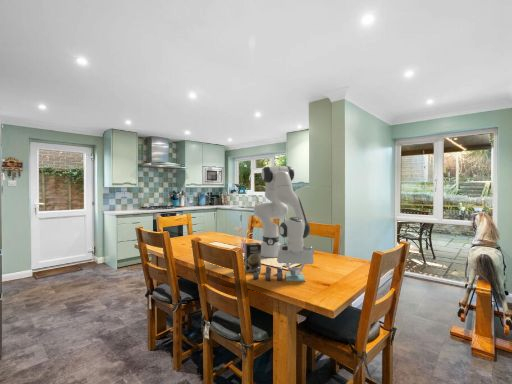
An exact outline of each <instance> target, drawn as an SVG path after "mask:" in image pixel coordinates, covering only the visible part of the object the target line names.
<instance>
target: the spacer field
mask: <svg viewBox="0 0 512 384" xmlns="http://www.w3.org/2000/svg"><path fill="white" fill-rule="evenodd" d="M252 273H253V274H252V275H253V276H252V279H253V280H254V281H259V280H260V274H261V271H260V267H258V266H256V267H255V272H252ZM271 276H272V266H267V265H266V267H265V274H264V281H266V282H270V281H271V278H272V277H271ZM283 279H284V278H283V267H281V266H280V267H279V266H278V267H277V269H276V280H277V281H278V282H279V281H280V282H282V281H283Z"/></svg>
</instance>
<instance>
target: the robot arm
mask: <svg viewBox="0 0 512 384" xmlns="http://www.w3.org/2000/svg"><path fill="white" fill-rule="evenodd" d="M260 175H261V180H262V181H263V182H264V183H265V187H264V188H265V189H264V196H265V198H266V199H267V200H269V201H271V202H262V203H256V204H255V206H254V207H253V214H254V215H255V217H256V218H258V219H259V221H260V222H261V224H262V229H263V230H262V232H263V235H262V242H261V243H260V244H261V257H263V258H264V257H265V258H276V261H277V263H278V264H285V265H286V267H287V271H288V272H290V271H291V268H292V267H290V266H289V264H295V265H296V264H299V265H301V267H298V268H299V269H300V273H303V269H304V267H305V265H313V264H314V254H315V249H314V248H313V247H312V246H304V239H306V238H307V237H308V236H309V235H310V233H311V227H310V224H309V222H308V220H307V218H306V214H305V211H304V207H303V204H302V201H301V199H300V197H299V196H298V195H297V194H296V193H295V191H294V189H293V188H294V187H293V183H292V181H293V180H294V178H295V170H294V168H293V167H292V166H288V165H287V166H284V165H277V166H276V165H275V166H265V167H263V168H262V170H261V174H260ZM288 206H290V207H292V208H293V210H294V212H295V215H296V216H292V217H289V218H288V220H286V221H283V222H281V223H280V225H279V226H278V224H277V223H275V222H274V221H272V220H271V219H273V218H274V219H277V218H278V219H279V218H285V217H287V215H288V213H289V207H288ZM279 235H280V236H281V237H282V238H283V239H287V242H286V243H280V242H279V241H280V237H279Z"/></svg>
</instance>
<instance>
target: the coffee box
mask: <svg viewBox="0 0 512 384" xmlns="http://www.w3.org/2000/svg"><path fill="white" fill-rule="evenodd" d="M243 257H244V259H243V261H244V262H243V266H244V265H245V270H244V271H245V273H253V272H255V267H256V266H258V267H260V272H261V266H262V264H261V262H262V256H261V243H259V242H248V243H245V242H244V256H243Z"/></svg>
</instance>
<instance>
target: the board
mask: <svg viewBox="0 0 512 384" xmlns="http://www.w3.org/2000/svg"><path fill="white" fill-rule="evenodd" d="M285 281H286V282H300V283H301V282H304V283H305V282H306V279H305V276H304V272H300V275H297V276H294V275H291V274H290V272H285Z"/></svg>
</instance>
